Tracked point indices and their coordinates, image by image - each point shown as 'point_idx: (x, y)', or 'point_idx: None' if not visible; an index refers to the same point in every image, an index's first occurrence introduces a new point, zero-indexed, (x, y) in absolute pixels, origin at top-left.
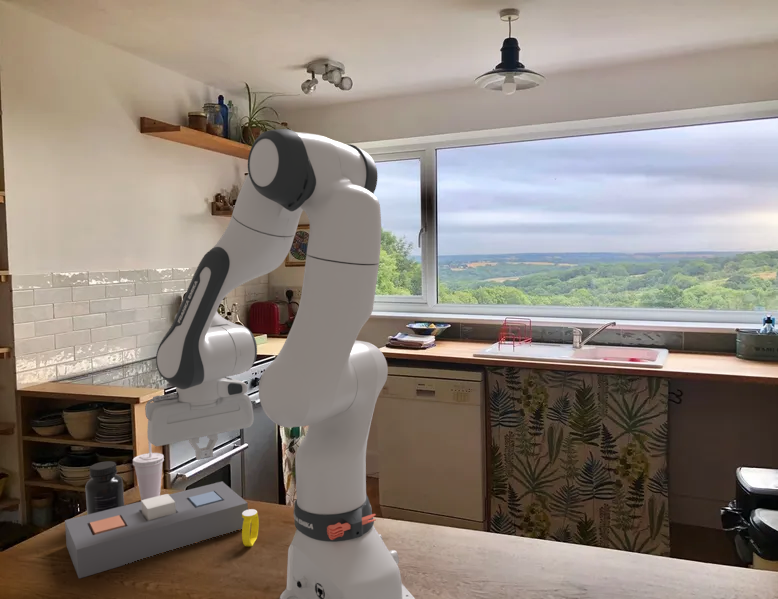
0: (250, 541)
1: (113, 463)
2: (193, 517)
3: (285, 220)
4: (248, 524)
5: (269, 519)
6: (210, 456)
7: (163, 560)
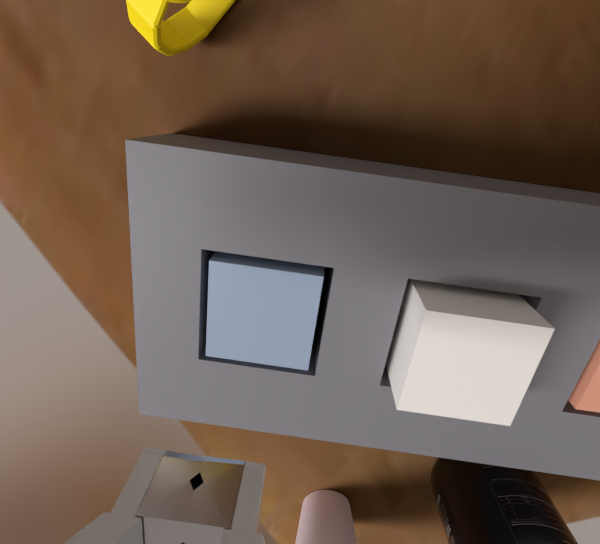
0: None
1: None
2: (392, 181)
3: None
4: None
5: (82, 137)
6: (164, 453)
7: (519, 125)
